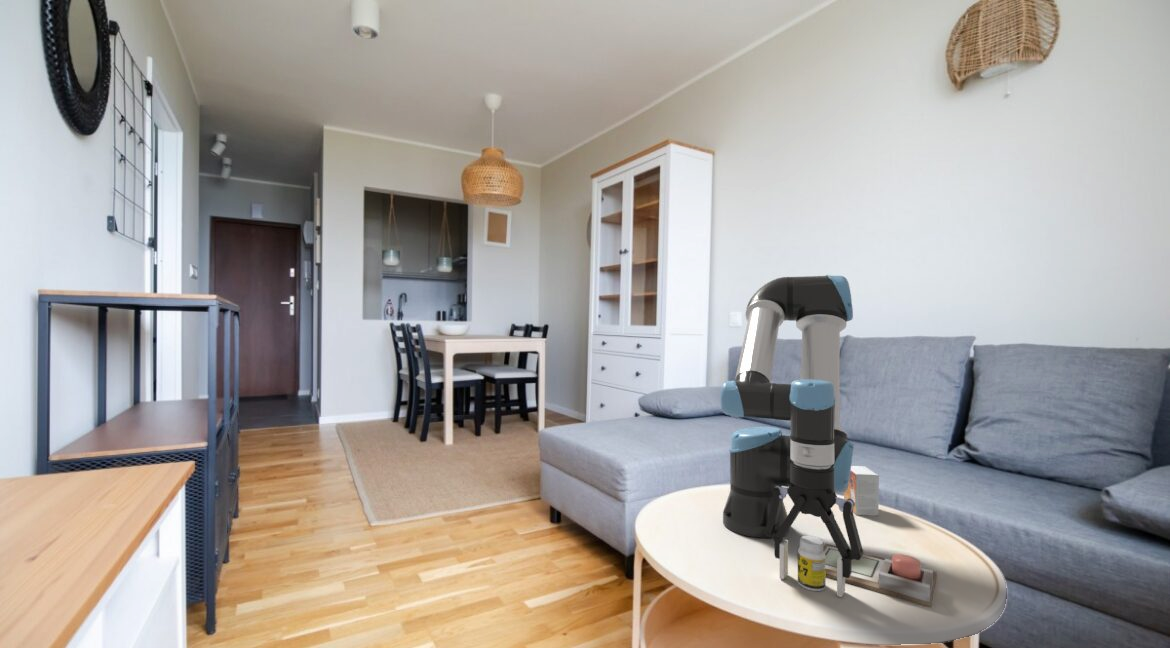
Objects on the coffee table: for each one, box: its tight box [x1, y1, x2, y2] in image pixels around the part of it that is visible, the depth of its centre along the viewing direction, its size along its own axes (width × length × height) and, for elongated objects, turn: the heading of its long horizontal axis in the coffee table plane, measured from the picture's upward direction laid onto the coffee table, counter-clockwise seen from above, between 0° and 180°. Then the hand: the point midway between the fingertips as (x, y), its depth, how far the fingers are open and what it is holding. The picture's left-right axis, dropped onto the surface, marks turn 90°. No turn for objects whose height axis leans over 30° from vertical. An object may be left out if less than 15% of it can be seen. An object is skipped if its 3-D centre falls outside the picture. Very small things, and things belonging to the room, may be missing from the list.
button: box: [891, 553, 922, 582], centre depth 92 cm, size 4×4×3 cm
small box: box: [843, 465, 880, 517], centre depth 132 cm, size 8×6×10 cm
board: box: [823, 542, 938, 608], centre depth 99 cm, size 20×14×3 cm
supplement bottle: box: [797, 535, 827, 592], centre depth 94 cm, size 5×5×8 cm
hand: (811, 584), depth 94 cm, fingers open, 9 cm apart
